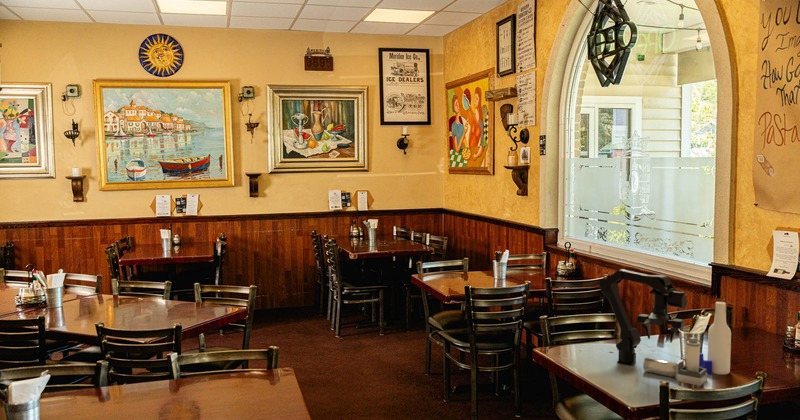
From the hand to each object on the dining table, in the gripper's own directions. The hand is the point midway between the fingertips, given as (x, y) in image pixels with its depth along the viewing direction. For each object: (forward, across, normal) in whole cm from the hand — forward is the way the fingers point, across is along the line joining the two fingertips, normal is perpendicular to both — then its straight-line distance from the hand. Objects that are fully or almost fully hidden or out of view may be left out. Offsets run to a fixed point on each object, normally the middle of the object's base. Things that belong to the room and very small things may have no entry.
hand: (659, 340), depth 285 cm
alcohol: (+13, +20, +14) cm, 28 cm away
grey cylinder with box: (+13, +7, -5) cm, 16 cm away
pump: (+10, +15, -5) cm, 19 cm away
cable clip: (+13, +14, +12) cm, 23 cm away
